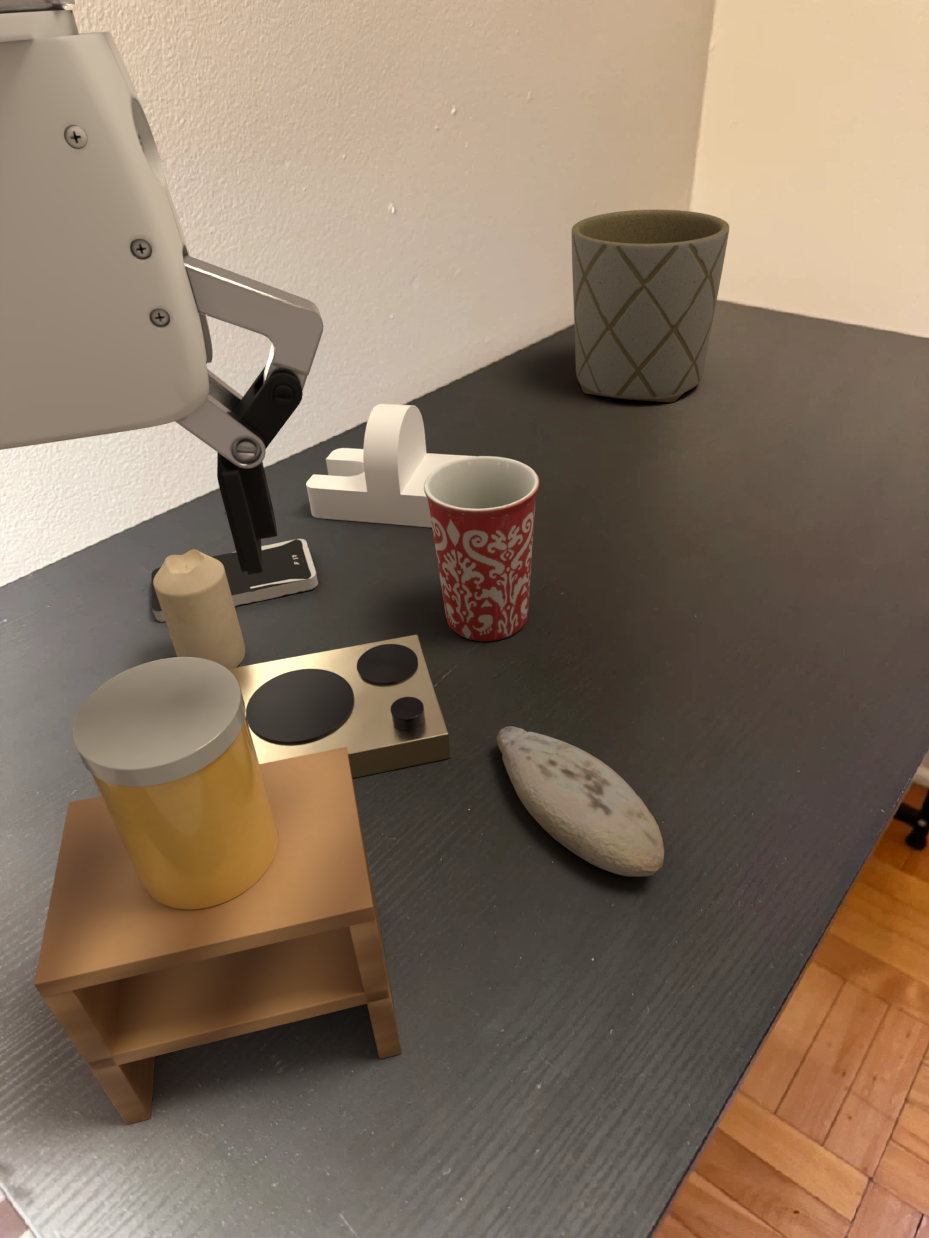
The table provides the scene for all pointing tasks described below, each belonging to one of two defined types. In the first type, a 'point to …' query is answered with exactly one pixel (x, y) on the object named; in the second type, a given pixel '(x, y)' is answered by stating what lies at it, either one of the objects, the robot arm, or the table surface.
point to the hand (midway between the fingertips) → (116, 578)
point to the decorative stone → (582, 803)
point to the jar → (180, 779)
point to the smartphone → (263, 575)
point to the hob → (347, 706)
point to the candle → (199, 609)
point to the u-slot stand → (380, 473)
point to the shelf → (215, 938)
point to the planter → (645, 300)
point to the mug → (483, 543)
